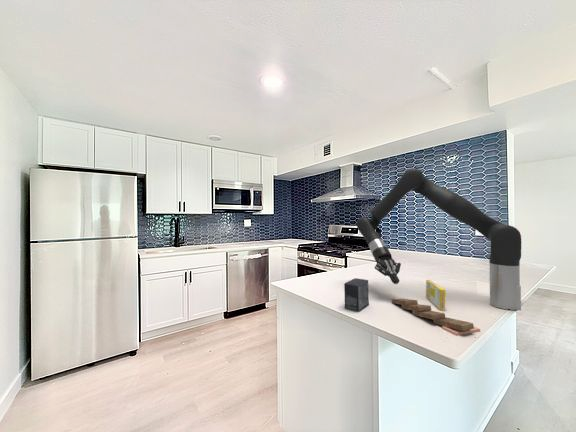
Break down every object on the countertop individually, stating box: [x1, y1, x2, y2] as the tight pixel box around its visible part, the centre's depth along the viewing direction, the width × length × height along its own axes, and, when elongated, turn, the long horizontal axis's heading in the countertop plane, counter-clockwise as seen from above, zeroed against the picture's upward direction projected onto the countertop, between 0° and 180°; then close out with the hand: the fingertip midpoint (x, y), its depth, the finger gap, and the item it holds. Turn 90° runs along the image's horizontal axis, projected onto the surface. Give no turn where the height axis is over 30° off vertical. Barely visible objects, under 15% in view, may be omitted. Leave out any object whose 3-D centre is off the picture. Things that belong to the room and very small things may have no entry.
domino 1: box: [391, 298, 419, 306], centre depth 100 cm, size 2×5×10 cm
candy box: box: [425, 279, 446, 311], centre depth 103 cm, size 16×2×8 cm, turn 168°
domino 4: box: [432, 316, 475, 331], centre depth 80 cm, size 2×5×10 cm
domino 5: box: [441, 326, 481, 337], centre depth 79 cm, size 2×5×10 cm
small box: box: [343, 277, 370, 313], centre depth 100 cm, size 11×6×10 cm, turn 141°
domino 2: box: [401, 303, 432, 311], centre depth 94 cm, size 2×5×10 cm
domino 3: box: [411, 310, 446, 321], centre depth 88 cm, size 2×5×10 cm
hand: (396, 283), depth 104 cm, fingers closed
